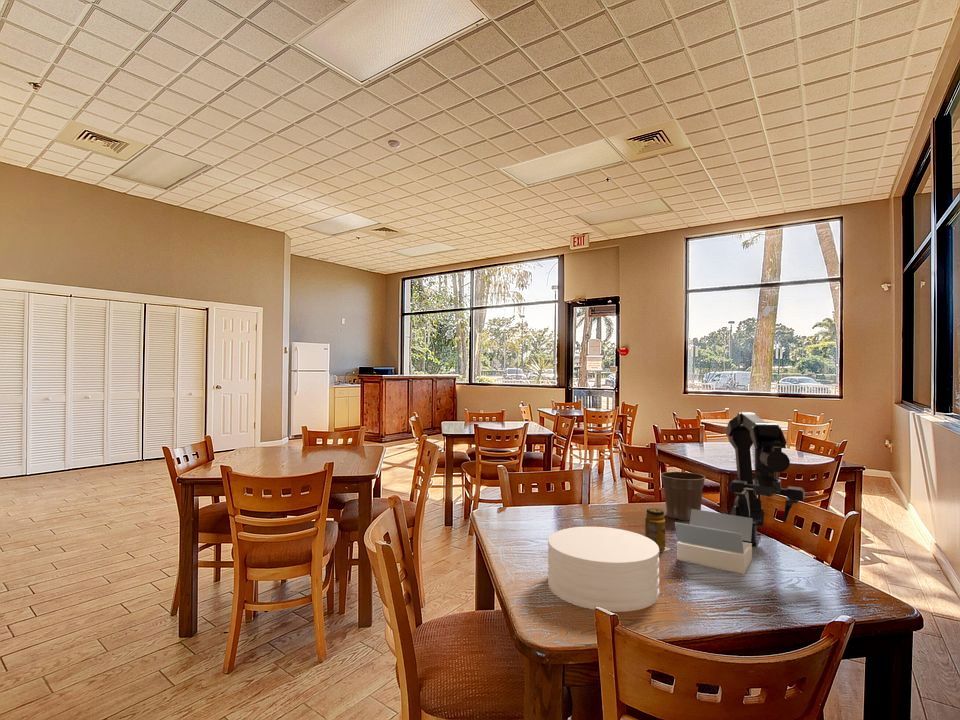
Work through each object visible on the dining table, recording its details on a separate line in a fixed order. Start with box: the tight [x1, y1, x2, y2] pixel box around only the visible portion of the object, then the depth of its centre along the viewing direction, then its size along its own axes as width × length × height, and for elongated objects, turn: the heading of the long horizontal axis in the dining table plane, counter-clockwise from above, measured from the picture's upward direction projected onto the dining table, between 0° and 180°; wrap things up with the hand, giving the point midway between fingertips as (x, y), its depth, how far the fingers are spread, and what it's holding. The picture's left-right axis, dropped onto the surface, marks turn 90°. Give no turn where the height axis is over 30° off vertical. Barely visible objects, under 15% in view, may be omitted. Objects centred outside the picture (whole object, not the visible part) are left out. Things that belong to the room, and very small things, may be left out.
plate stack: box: [547, 526, 660, 613], centre depth 132 cm, size 28×28×12 cm
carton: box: [676, 541, 753, 575], centre depth 151 cm, size 13×18×5 cm
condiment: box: [644, 507, 672, 553], centre depth 162 cm, size 7×8×12 cm
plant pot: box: [660, 471, 707, 522], centre depth 198 cm, size 16×16×16 cm
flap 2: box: [674, 521, 744, 554], centre depth 145 cm, size 7×18×1 cm
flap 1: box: [688, 509, 753, 542], centre depth 158 cm, size 7×18×1 cm
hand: (766, 519), depth 148 cm, fingers open, 9 cm apart
